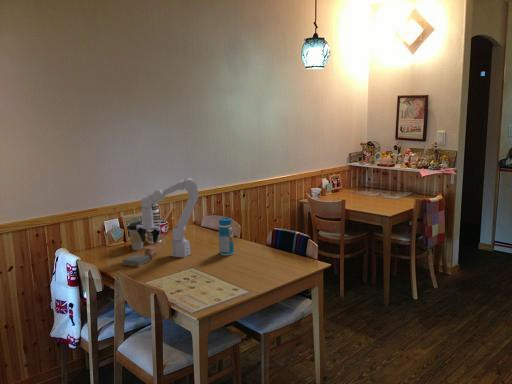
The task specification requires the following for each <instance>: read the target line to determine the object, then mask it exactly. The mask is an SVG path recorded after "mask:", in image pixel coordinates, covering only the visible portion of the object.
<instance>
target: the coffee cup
mask: <svg viewBox="0 0 512 384" xmlns="http://www.w3.org/2000/svg"><path fill="white" fill-rule="evenodd" d="M137 225H143V222H133V223H130V224H128V226H127V230H128V232H129V233H128V235H129V239H130V243H131V247H132V250H133V249H134V250H133V251H135V250H138V251H141V250H140V249H142V248H143V249H144V242H142V240H141V237H140V235H139V233H138V232H137V230H138V229H137V227H136V226H137ZM143 249H142V250H143Z"/></svg>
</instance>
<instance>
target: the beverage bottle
mask: <svg viewBox="0 0 512 384" xmlns="http://www.w3.org/2000/svg"><path fill="white" fill-rule="evenodd" d="M218 223H219V228H218V243H219V254H220V255H222V256H231V255H233V254H234V253H235V245H234V244H235V243H234V228H233V227H232V218H231V217H221V218H219V219H218Z"/></svg>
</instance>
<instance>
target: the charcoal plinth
mask: <svg viewBox="0 0 512 384" xmlns="http://www.w3.org/2000/svg"><path fill="white" fill-rule="evenodd" d="M148 261H149V262H151V259H150V256H147V255H145V254H136V253H134V254H132V255H129V256H128V257H126V258H124V259H122V263H123V264H125V265H133V266H140V265H142V264H144V263H146V262H148ZM149 262H148V263H149ZM146 264H147V263H146ZM125 265H124V266H125ZM144 265H145V264H144ZM133 266H132V267H133ZM142 266H143V265H142ZM140 267H141V266H140Z"/></svg>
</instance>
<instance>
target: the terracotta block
mask: <svg viewBox="0 0 512 384" xmlns="http://www.w3.org/2000/svg"><path fill="white" fill-rule="evenodd" d="M143 249H144V250H143V251H144V255H147V256H150V260H153V259H152V258H154V257H155V258H157V257H156V256H157V247H156V246H151V245H148V246H146V247H143ZM155 258H154V259H155Z"/></svg>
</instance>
